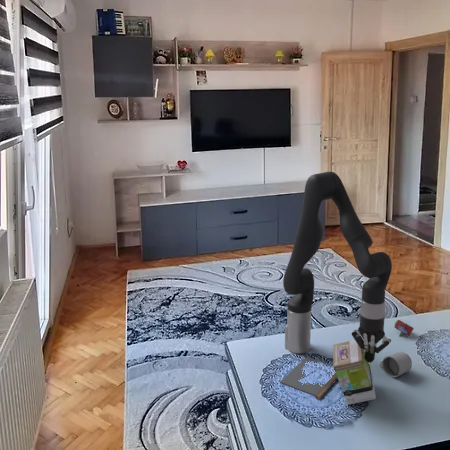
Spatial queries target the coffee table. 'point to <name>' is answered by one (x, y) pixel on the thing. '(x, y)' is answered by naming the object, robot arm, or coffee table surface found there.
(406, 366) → the ceramic mug
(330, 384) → the rail
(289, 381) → the mat
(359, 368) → the tea box
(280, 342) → the coffee table surface
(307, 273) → the robot arm
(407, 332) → the geometric puzzle
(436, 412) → the coffee table surface
